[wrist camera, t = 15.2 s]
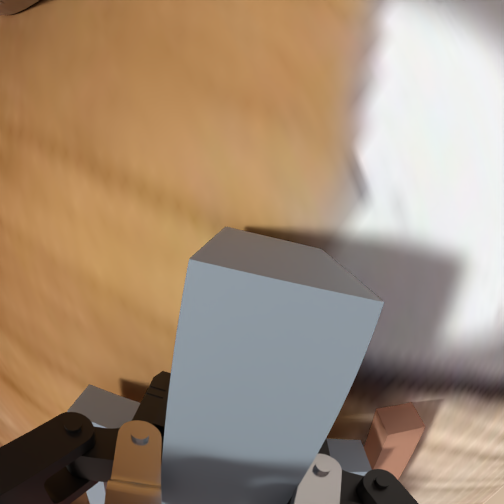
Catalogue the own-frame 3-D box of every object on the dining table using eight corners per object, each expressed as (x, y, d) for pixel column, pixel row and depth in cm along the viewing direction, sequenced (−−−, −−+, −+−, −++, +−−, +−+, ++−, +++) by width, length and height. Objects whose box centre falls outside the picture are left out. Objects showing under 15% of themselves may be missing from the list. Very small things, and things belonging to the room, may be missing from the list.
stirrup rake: (100, 199, 11) (-10, 207, 5) (432, 277, 11) (529, 329, 5) (107, 507, 15) (85, 560, 9) (283, 543, 15) (286, 599, 9)
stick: (370, 489, 16) (377, 512, 14) (343, 494, 16) (348, 518, 14) (409, 399, 14) (425, 426, 12) (374, 405, 14) (387, 434, 12)
